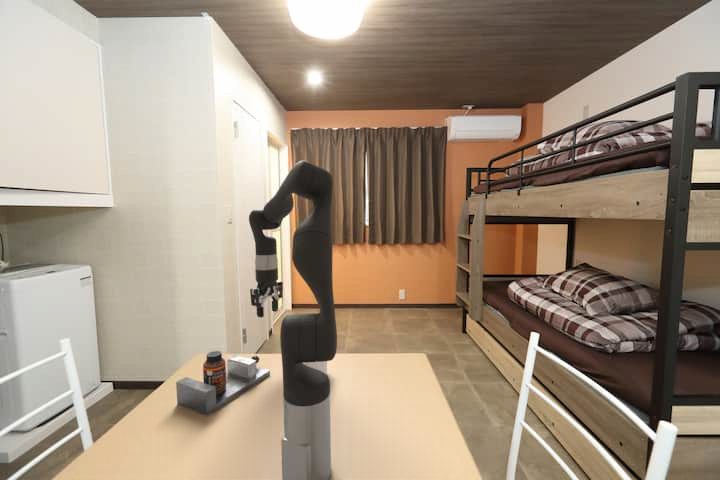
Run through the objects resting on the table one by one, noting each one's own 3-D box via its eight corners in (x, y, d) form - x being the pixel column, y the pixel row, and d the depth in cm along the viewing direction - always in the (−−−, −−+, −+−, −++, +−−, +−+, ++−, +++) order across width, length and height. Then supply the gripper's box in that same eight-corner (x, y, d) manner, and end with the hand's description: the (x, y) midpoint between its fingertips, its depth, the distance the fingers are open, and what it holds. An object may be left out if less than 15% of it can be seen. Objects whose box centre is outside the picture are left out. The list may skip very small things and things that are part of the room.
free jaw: (248, 380, 100) (248, 365, 100) (227, 373, 104) (226, 359, 104) (268, 367, 108) (268, 353, 108) (248, 362, 112) (247, 348, 112)
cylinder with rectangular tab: (322, 383, 101) (322, 346, 100) (295, 381, 103) (294, 344, 102) (329, 369, 110) (329, 335, 109) (304, 367, 111) (303, 333, 110)
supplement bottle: (213, 399, 90) (211, 359, 89) (199, 393, 93) (197, 355, 92) (230, 388, 95) (229, 351, 94) (217, 383, 98) (215, 347, 97)
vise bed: (207, 415, 85) (205, 392, 85) (177, 404, 90) (176, 381, 90) (269, 374, 107) (269, 355, 106) (242, 367, 112) (242, 349, 111)
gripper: (260, 271, 104) (261, 321, 105) (288, 264, 117) (289, 309, 118) (242, 269, 107) (244, 318, 109) (272, 263, 120) (273, 307, 122)
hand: (268, 313), depth 114 cm, fingers open, 6 cm apart
